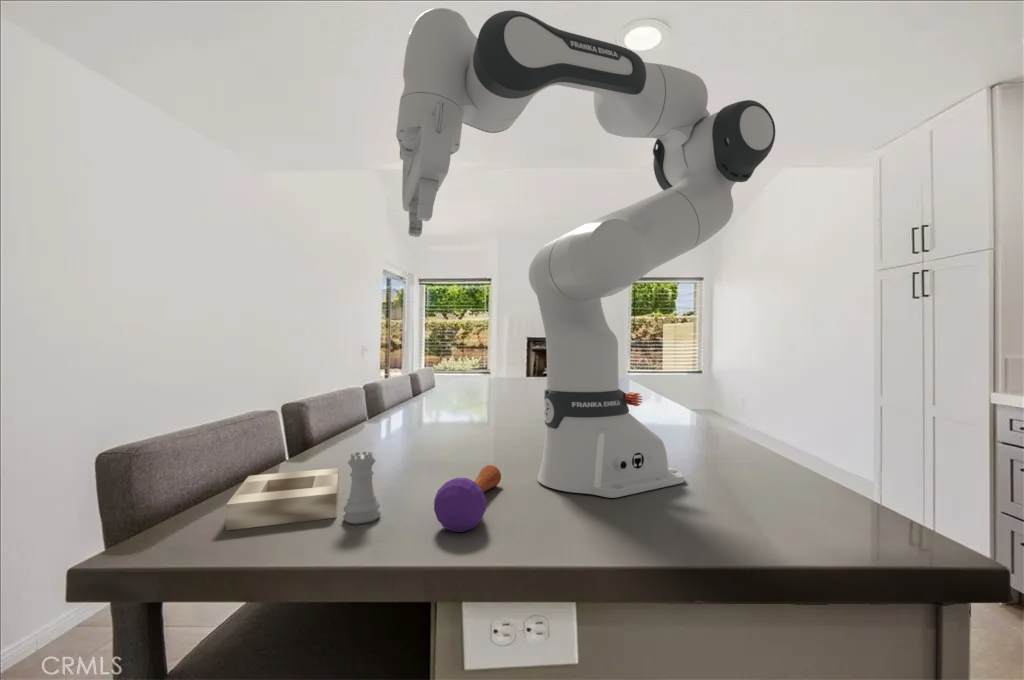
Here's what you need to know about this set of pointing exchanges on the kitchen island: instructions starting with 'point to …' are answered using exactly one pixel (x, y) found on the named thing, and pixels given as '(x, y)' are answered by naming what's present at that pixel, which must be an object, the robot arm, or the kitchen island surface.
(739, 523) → the kitchen island surface
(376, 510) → the rook chess piece
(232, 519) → the square wooden frame
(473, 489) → the purple maraca
